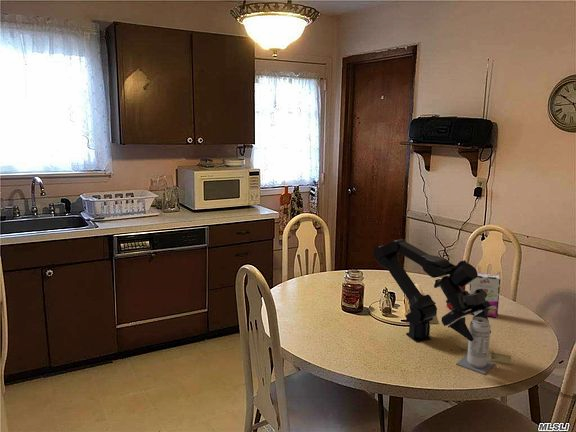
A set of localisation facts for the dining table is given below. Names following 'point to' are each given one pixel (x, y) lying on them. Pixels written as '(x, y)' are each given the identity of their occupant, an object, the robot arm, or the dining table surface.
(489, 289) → the candy bar box
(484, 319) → the energy drink can
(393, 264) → the robot arm
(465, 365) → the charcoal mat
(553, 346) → the dining table surface
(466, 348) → the zigzag wooden bar
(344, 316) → the dining table surface
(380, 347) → the dining table surface
